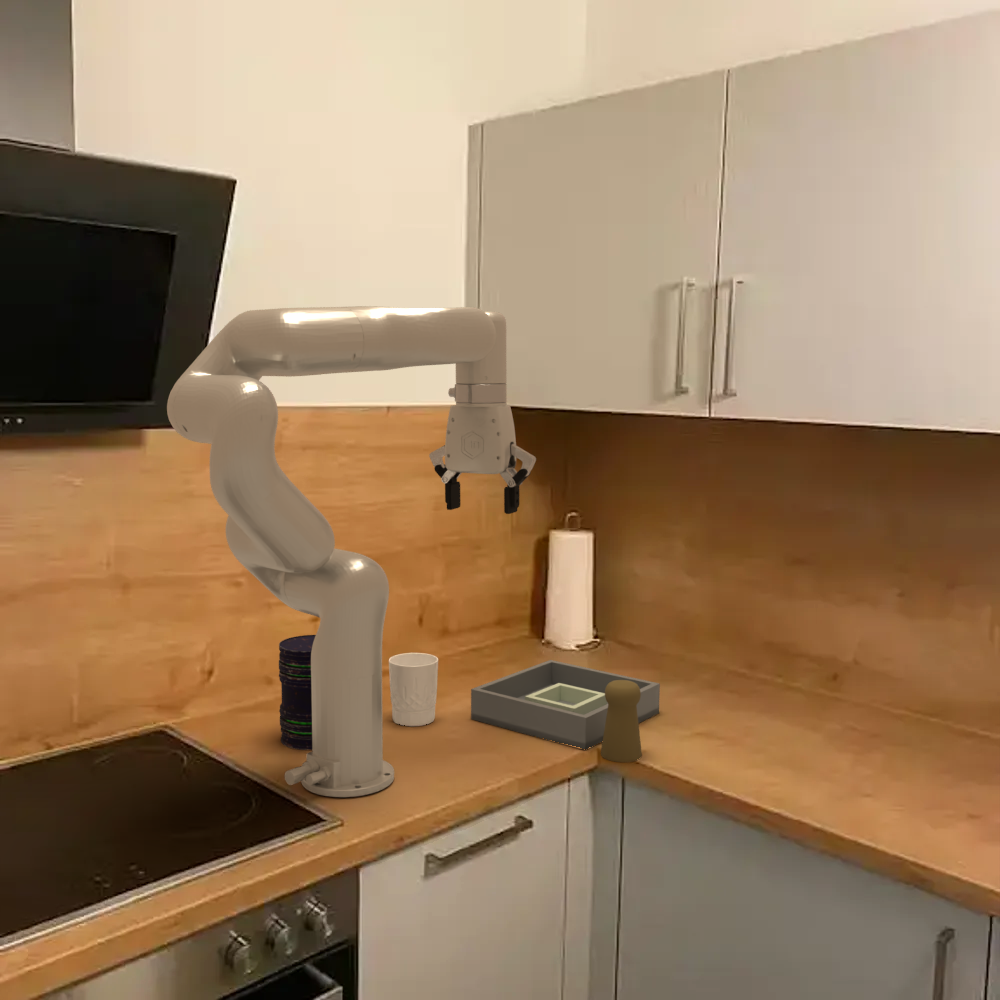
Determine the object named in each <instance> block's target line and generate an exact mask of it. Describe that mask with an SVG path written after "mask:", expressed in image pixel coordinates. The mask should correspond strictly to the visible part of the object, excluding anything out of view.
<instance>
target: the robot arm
mask: <svg viewBox="0 0 1000 1000" xmlns="http://www.w3.org/2000/svg"><path fill="white" fill-rule="evenodd" d="M506 320H507V319H506V317H505V316H504V314H503V313H501V312H498V311H490V310H487V311H485V310H482V309H480V308H478V307H474V306H466V307H463V306H460V307H428V308H427V307H426V308H425V307H424V308H423V307H421V308H420V307H419V308H418V307H415V308H414V307H410V308H409V307H394V306H393V307H391V306H371V305H369V306H366V305H365V306H363V305H362V306H327V307H326V306H320V307H317V306H316V307H312V306H311V307H282V308H280V307H279V308H268V309H252V310H251V309H250V310H247V311H246V310H245V311H243V312H241V313H239V314H237V315H236V316H235V317H233V318H232V319H231V320H230V321H229V322H228V323H226V325H224V327H223V328H222V329H221V330H220V331H219V332H218V333H217V334H216V336H214V337H213V339H212V340H211V341H210V342H209V343H208V344H207V346H206V347H205V348H204V349H203V350H202V351H201V353H200V354H199V355H198V356H197V357H196V358H195V360H194V361H193V362H192V363H191V364H190V365H189V366H188V368H187V369H186V370H185V371H184V372H183V373H182V374H181V375H180V377H179V378H178V379H177V380H176V382H175V383H174V385H173V387H172V389H171V390H170V393H169V395H168V399H167V403H166V411H167V413H166V414H167V417H168V420H169V421H168V422H170V424H171V426H172V429H174V431H176V432H177V434H178V435H180V436H181V437H182V438H184V439H186V440H188V441H191V442H194V443H198V444H199V443H200V444H211V445H210V450H209V484H210V486H211V487H210V488H211V492H212V494H213V496H214V499H215V500H216V502H217V503H218V505H219V506H220V508H221V509H222V510H223V511H224V512H225V514H227V515H228V516H227V519H226V523H225V539H226V542H227V545H228V548H229V549H230V552H231V553H232V555H233V556H234V557H235V559H236V560H237V561H238V562H239V563H240V564H241V565H242V567H244V568H245V569H246V570H247V571H248V572H249V573H250V574H251V575H252V576H254V577H255V578H256V580H257V581H259V583H261V584H262V585H263V587H265V589H267V590H268V591H269V592H270V593H271V594H272V595H273V596H275V598H277V599H278V600H279V601H281V602H282V603H283V604H284V605H285V606H287V607H289V608H291V609H293V610H294V611H298V612H301V613H304V614H307V615H310V616H314V617H317V618H319V619H320V621H319V624H318V625H319V626H318V628H317V632H316V634H315V635H316V636H315V639H314V642H313V645H312V651H311V690H312V750H311V751H310V752H307V753H306V760H305V761H304V762H303V763H302V765H301V766H296V767H294V768H291V769H289V770H286V771H285V773H284V781H285V782H286V783H287V784H288V785H289V786H292V785H296V784H298V783H300V784H302V787H303V788H305V789H306V790H307V791H309V792H311V793H313V794H316V795H318V796H319V795H320V796H325V797H331V798H353V797H361V796H366V795H371V794H374V793H377V792H379V791H382V790H384V789H386V788H387V787H389V786H390V785H391V784H392V783H393V782H394V779H395V769H394V767H393V765H392V764H390V763H389V762H388V761H386V760H384V759H383V757H384V756H383V754H384V753H383V752H384V751H383V745H384V744H383V741H384V740H383V636H384V635H383V634H384V624H385V619H386V613H387V608H388V604H389V599H390V584H389V583H390V582H389V579H388V577H387V574H386V572H385V570H384V568H382V566H381V565H380V564H379V563H378V562H377V561H375V560H374V559H372V558H371V557H369V556H367V555H364V554H362V553H359V552H354V551H350V550H346V549H345V550H344V549H340V548H335V546H336V544H335V543H336V541H335V540H336V539H335V534H334V531H333V528H332V526H331V524H330V522H329V521H328V519H327V518H326V516H324V514H323V513H322V512H321V511H320V510H319V508H317V507H316V506H315V505H314V504H313V503H312V502H311V500H309V499H308V498H307V497H306V496H305V495H304V493H303V492H302V491H301V490H300V489H299V488H298V487H297V486H296V485H295V484H294V482H292V481H291V480H290V478H289V477H288V476H287V475H286V473H285V472H284V471H283V470H282V468H281V467H280V465H279V463H278V461H277V457H276V450H275V448H276V447H275V445H276V442H275V441H276V435H277V429H278V425H279V423H278V422H279V410H278V403H277V402H276V398H275V396H274V394H273V392H272V391H271V390H270V388H269V387H268V386H267V385H266V384H265V383H263V382H262V381H261V379H262V377H288V378H289V377H290V378H291V377H305V376H317V375H318V376H319V375H320V376H321V375H329V374H342V373H343V374H344V373H347V374H348V373H359V372H360V373H361V372H362V373H363V372H374V371H390V370H396V369H404V368H411V367H412V368H413V367H423V366H439V365H452V364H453V365H454V364H455V384H454V387H449V389H448V396H449V397H450V398H453V399H454V402H455V404H454V405H450V408H449V411H448V412H449V413H448V417H447V425H446V432H445V445H443V446H441V447H439V448H437V449H435V450H433V451H431V452H430V453H429V455H428V456H429V459H430V461H431V463H432V466H433V467H434V471H435V473H436V474H437V475H438V476H439V478H440V480H441V482H442V483H443V484H444V501H445V503H446V509H447V511H452V510H456V509H459V508H460V507H461V482H460V481H458V478H459V477H460V476H461V475H462V474H476V475H477V474H481V475H497V474H499V475H500V476H501V477H502V479H503V480H504V481H505V483H506V484H507V485H506V486H504V488H503V489H504V490H503V493H504V494H503V500H504V501H503V503H504V504H503V505H504V506H503V507H504V509H503V510H504V511H503V512H504V514H506V515H510V514H514V513H517V511H518V508H519V507H520V486H521V485H523V482H525V480H526V479H527V478H529V476H530V475H531V471H532V470H533V468H534V466H535V463H536V461H537V458H536V456H534V455H533V454H531V453H529V452H528V451H526V450H524V449H523V448H521V447H520V446H518V445H517V442H516V441H517V440H516V430H515V429H516V428H515V422H514V418H513V413H512V409H511V407H512V406H511V405H507V402H508V401H507V399H508V398H507V394H508V393H507V389H508V388H507V387H508V385H507V321H506ZM443 458H444V460H443ZM517 459H519V460H520V461H521V463H522V464H521V467H520V469H519V470H518V471H517V469H515V468H516V466H517Z"/></svg>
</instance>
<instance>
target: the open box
mask: <svg viewBox="0 0 1000 1000" xmlns="http://www.w3.org/2000/svg"><path fill="white" fill-rule="evenodd" d="M615 680H628V681H632V682H634V683H636V684H637V685H638V686H639V688H640V692H641V697H640V701H639V702H638V704H637V715H638V724H640V723H642V722H644V721H646V720H648V719H651V718H653V717H654V716H656V715H658V714H659V713H660V694H661V693H660V691H661V690H660V689H661V688H660V687H661V684H660V683H659V682H653V681H649V680H645V679H641V678H636V677H633V676H631V677H630V676H628V675H627V676H626V675H623V674H622V675H621V674H617V673H613V672H608V671H603V670H598V669H595V668H590V667H586V666H585V667H584V666H581V665H575V664H572V663H571V664H570V663H566V662H562V661H559V660H558V661H557V660H552V659H548V660H547V661H544V662H541V663H539V664H536V665H533V666H530V667H528V668H524V669H522V670H519V671H516V672H515V673H511V674H508V675H505V676H502V677H501V678H497V679H495V680H492V681H489V682H487V683H484V684H481V685H478V686H476V687H473V688H471V689H470V704H471V705H470V719H471V720H474V721H476V722H479V723H484V724H488V725H491V726H495V727H499V728H503V729H505V730H510V731H513V732H518V733H521V734H524V735H527V736H531V737H534V736H536V737H535V738H538V737H539V739H542V738H544V739H543V740H545V739H547V740H546V741H549V740H552V741H555V742H554V743H556V742H559V743H558V744H560V743H564V744H568V745H572V746H576V747H580V748H582V749H585V750H584V751H587V750H589V749H590V748H589V747H591V748H593V747H594V745H595V746H597V745H599V744H601V743H602V741H603V735H604V729H605V723H606V716H607V710H608V702H607V701H606V698H605V689H606V686H607V685H608V683H610V682H612V681H615ZM552 741H551V742H552ZM600 742H601V743H600ZM598 743H599V744H598ZM596 744H597V745H596ZM592 746H593V747H592ZM588 748H589V749H588ZM582 749H581V750H582ZM586 749H587V750H586Z"/></svg>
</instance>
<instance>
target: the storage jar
mask: <svg viewBox="0 0 1000 1000" xmlns="http://www.w3.org/2000/svg"><path fill="white" fill-rule="evenodd" d="M315 636H316V634H307V635H305V634H304V635H297V636H292V637H288V638H285V639H283V640H281V641H280V642H279V644H278V649H279V654H278V657H279V659H278V670H279V671H278V672H279V674H278V677H279V682H280V683H281V684H280V685H281V703H280V705H279V711H278V712H279V726H280V732H281V735H280V743H282V745H283V746H285V747H287V748H290V749H294V750H301V751H312V690H311V651H312V645H313V642H314V639H315Z"/></svg>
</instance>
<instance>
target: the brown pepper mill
mask: <svg viewBox="0 0 1000 1000" xmlns="http://www.w3.org/2000/svg"><path fill="white" fill-rule="evenodd" d="M640 697H641V692H640V688H639V686H638V685H637V684H636V683H634V682H632V681H628V680H615V681H612V682H610V683H608V685H607V686H606V689H605V698H606V701H607V702H608V710H607V716H606V723H605V729H604V735H603V742H601V749H600V756H601V757H602V758H603V759H604V760H608V761H611V762H616V763H633V762H636V761H638V760H637V759H639V758H640V757H641V756H643V754H642V753H643V752H642V745H641V735H640V733H641V732H640V726H639V724H640V723H638V715H637V704H638V702H639V701H640ZM641 758H642V757H641ZM639 760H640V759H639Z"/></svg>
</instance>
